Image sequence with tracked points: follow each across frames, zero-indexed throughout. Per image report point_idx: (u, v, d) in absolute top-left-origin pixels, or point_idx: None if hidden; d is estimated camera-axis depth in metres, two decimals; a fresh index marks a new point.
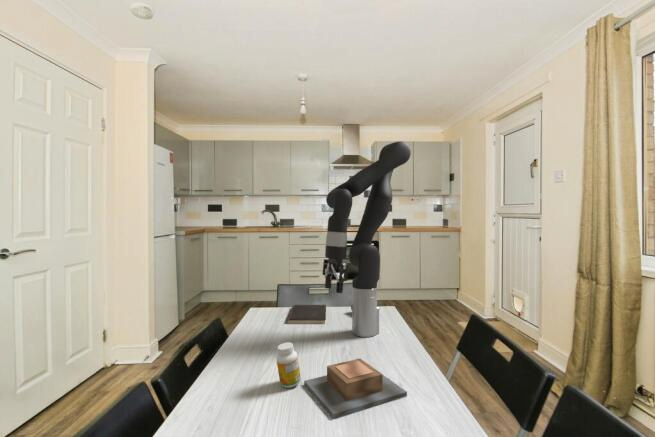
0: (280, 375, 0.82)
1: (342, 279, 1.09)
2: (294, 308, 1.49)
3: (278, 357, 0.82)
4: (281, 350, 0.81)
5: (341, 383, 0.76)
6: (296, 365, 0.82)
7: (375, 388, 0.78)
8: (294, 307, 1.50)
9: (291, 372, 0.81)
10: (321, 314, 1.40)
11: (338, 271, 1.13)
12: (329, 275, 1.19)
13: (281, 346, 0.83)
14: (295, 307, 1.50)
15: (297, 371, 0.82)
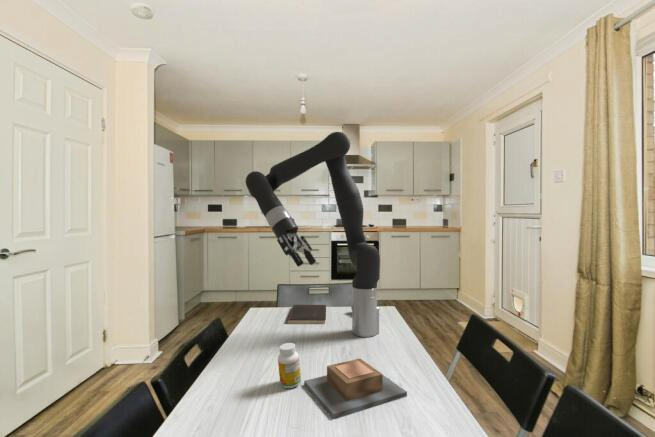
0: (280, 375, 0.82)
1: (286, 252, 0.97)
2: (294, 308, 1.49)
3: (279, 356, 0.82)
4: (282, 350, 0.82)
5: (341, 383, 0.76)
6: (296, 367, 0.82)
7: (375, 388, 0.78)
8: (294, 307, 1.50)
9: (291, 373, 0.81)
10: (321, 314, 1.40)
11: (291, 245, 1.01)
12: (306, 251, 1.07)
13: (283, 346, 0.83)
14: (295, 307, 1.50)
15: (297, 373, 0.82)
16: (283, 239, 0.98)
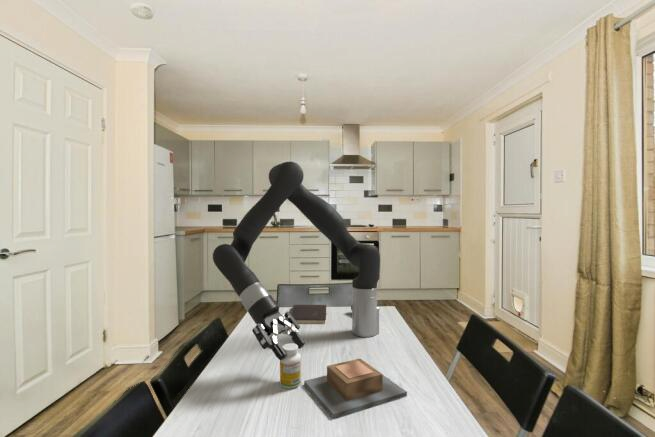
0: (280, 372, 0.83)
1: (263, 346, 0.80)
2: (294, 308, 1.49)
3: None
4: (283, 349, 0.82)
5: (341, 383, 0.76)
6: (294, 369, 0.81)
7: (375, 388, 0.78)
8: (294, 307, 1.50)
9: (288, 374, 0.81)
10: (321, 314, 1.40)
11: (271, 332, 0.85)
12: (292, 331, 0.90)
13: (287, 345, 0.84)
14: (295, 307, 1.50)
15: (295, 375, 0.81)
16: (258, 330, 0.81)
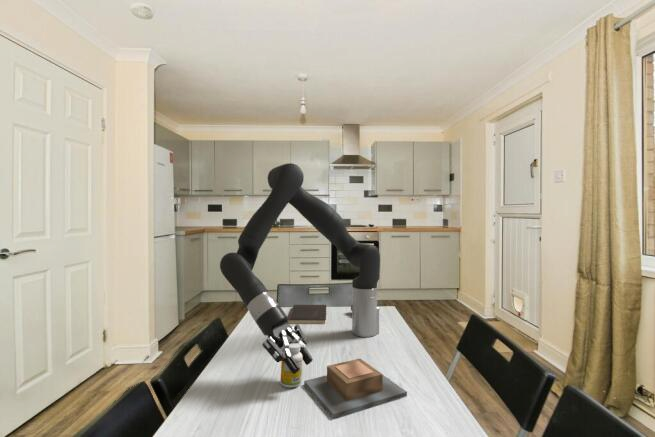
0: (281, 371, 0.83)
1: (277, 359, 0.79)
2: (294, 308, 1.49)
3: None
4: None
5: (341, 383, 0.76)
6: None
7: (375, 388, 0.78)
8: (294, 307, 1.50)
9: (289, 371, 0.81)
10: (321, 314, 1.40)
11: (282, 344, 0.83)
12: None
13: (289, 344, 0.85)
14: (295, 307, 1.50)
15: (295, 374, 0.82)
16: (270, 344, 0.79)
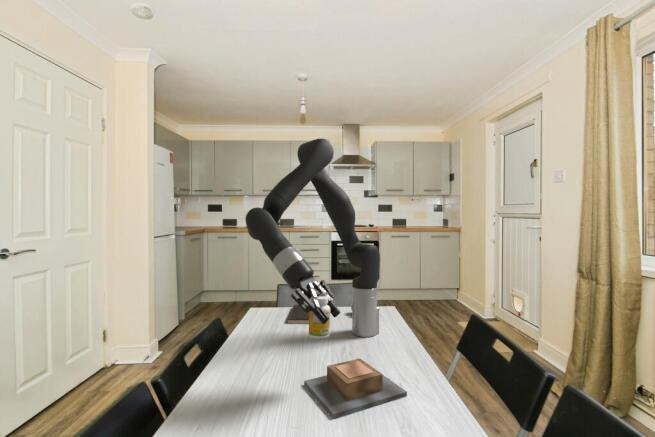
0: (309, 323, 0.83)
1: (306, 309, 0.79)
2: (294, 308, 1.49)
3: None
4: None
5: (341, 383, 0.76)
6: None
7: (375, 388, 0.78)
8: (295, 307, 1.50)
9: (317, 322, 0.81)
10: None
11: (309, 296, 0.82)
12: None
13: (317, 296, 0.84)
14: (296, 307, 1.50)
15: (324, 325, 0.81)
16: (299, 295, 0.79)
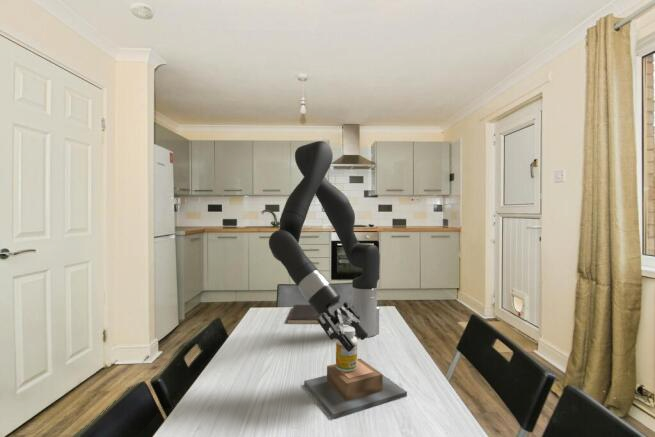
0: (336, 355, 0.81)
1: (331, 336, 0.76)
2: (295, 308, 1.49)
3: None
4: None
5: (341, 383, 0.76)
6: (352, 352, 0.79)
7: (375, 388, 0.78)
8: (295, 307, 1.50)
9: (345, 356, 0.79)
10: (321, 314, 1.40)
11: (336, 322, 0.80)
12: (354, 322, 0.85)
13: (343, 328, 0.82)
14: (296, 307, 1.50)
15: (352, 358, 0.79)
16: (325, 319, 0.77)
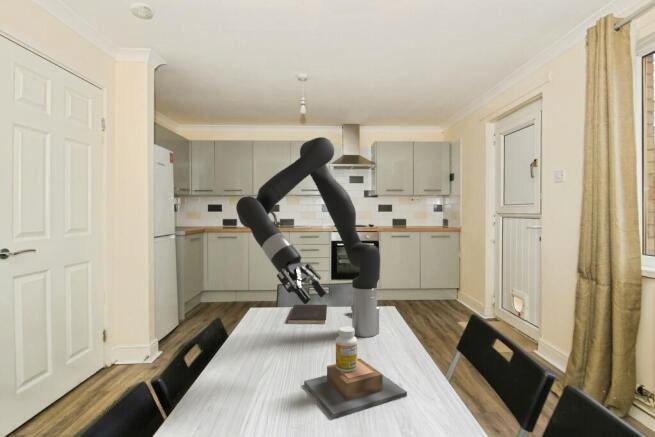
0: (336, 355, 0.81)
1: (288, 290, 0.82)
2: (295, 308, 1.49)
3: (337, 337, 0.82)
4: (340, 331, 0.81)
5: (341, 383, 0.76)
6: (352, 352, 0.79)
7: (375, 388, 0.78)
8: (295, 307, 1.50)
9: (345, 356, 0.79)
10: (321, 314, 1.40)
11: (295, 279, 0.86)
12: (314, 281, 0.91)
13: (343, 328, 0.82)
14: (296, 307, 1.50)
15: (352, 358, 0.79)
16: (283, 274, 0.83)
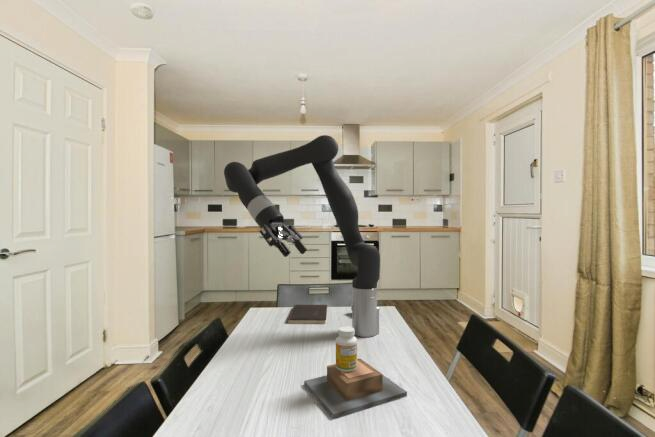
0: (336, 355, 0.81)
1: (270, 243, 0.89)
2: (295, 308, 1.49)
3: (337, 337, 0.82)
4: (340, 331, 0.81)
5: (341, 383, 0.76)
6: (352, 352, 0.79)
7: (375, 388, 0.78)
8: (295, 307, 1.50)
9: (345, 356, 0.79)
10: (322, 314, 1.40)
11: (276, 235, 0.93)
12: (296, 240, 0.98)
13: (343, 328, 0.82)
14: (296, 307, 1.50)
15: (352, 358, 0.79)
16: (265, 229, 0.90)
